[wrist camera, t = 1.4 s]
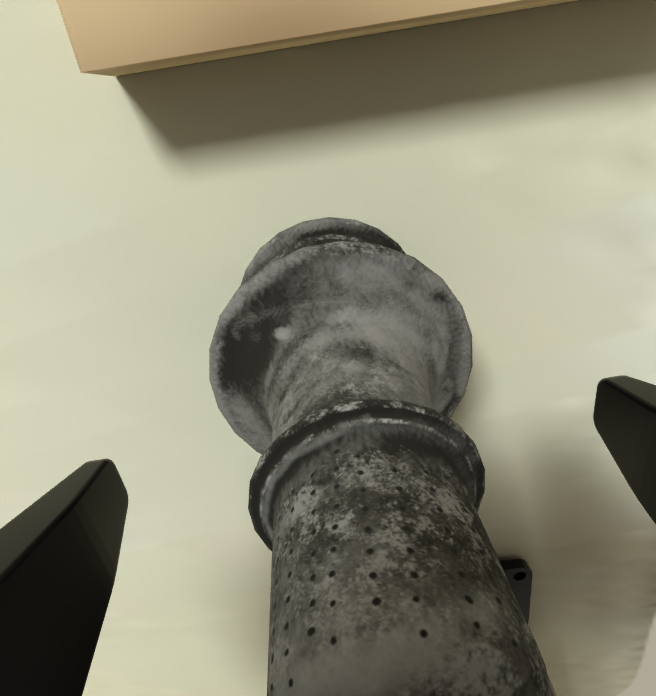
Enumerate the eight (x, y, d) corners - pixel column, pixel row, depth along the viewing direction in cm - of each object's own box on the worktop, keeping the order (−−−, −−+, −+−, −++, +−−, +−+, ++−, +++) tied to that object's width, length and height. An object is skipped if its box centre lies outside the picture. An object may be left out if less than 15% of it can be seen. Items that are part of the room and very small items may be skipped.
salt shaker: (447, 366, 15) (822, 1008, 4) (267, 417, 15) (221, 1118, 5) (409, 176, 12) (1139, 661, 2) (193, 244, 13) (-278, 973, 2)
